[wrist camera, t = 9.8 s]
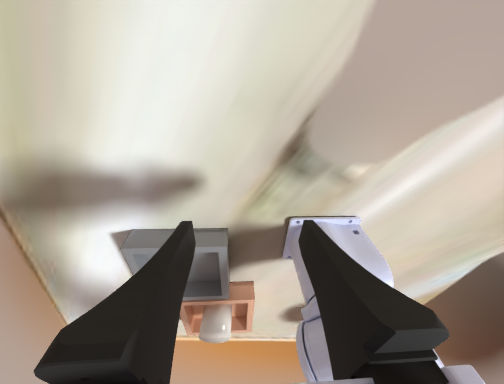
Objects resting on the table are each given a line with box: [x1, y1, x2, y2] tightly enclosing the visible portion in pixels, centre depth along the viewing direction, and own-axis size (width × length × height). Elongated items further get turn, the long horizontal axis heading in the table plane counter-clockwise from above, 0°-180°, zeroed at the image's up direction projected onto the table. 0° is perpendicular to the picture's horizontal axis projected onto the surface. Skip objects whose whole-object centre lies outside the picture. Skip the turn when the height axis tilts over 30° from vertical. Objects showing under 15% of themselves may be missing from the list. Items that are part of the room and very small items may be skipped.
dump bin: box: [180, 281, 255, 335], centre depth 34 cm, size 12×12×3 cm
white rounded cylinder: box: [199, 304, 233, 343], centre depth 33 cm, size 5×5×5 cm
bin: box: [120, 228, 230, 301], centre depth 27 cm, size 12×12×3 cm
